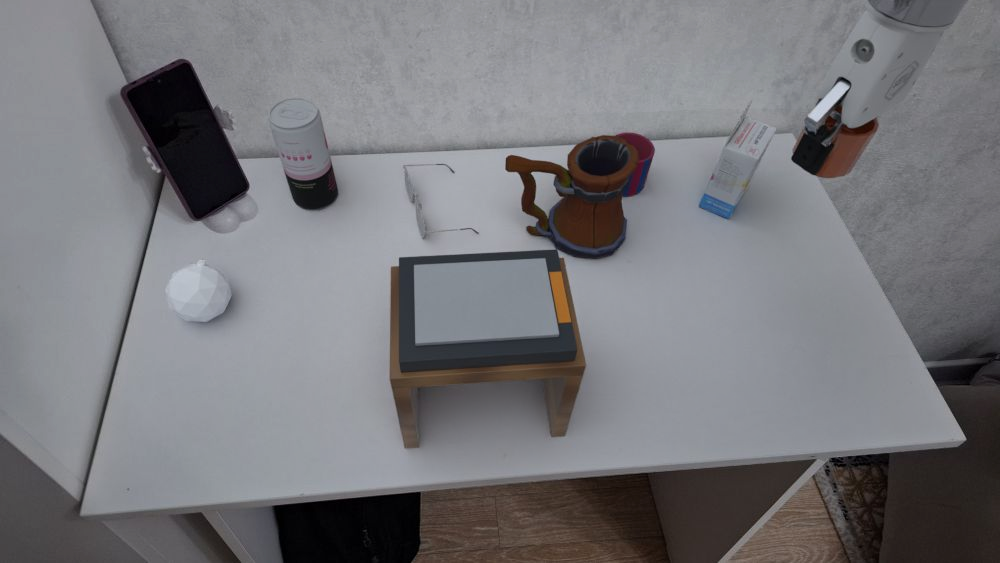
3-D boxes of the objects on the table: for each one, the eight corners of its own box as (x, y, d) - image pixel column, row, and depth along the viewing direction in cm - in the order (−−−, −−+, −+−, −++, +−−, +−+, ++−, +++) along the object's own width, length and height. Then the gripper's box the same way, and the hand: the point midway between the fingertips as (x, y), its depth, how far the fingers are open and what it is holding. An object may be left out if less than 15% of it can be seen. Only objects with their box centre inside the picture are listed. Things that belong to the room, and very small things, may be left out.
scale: (555, 261, 64) (557, 245, 62) (574, 361, 57) (578, 347, 55) (400, 269, 63) (398, 253, 61) (400, 373, 56) (398, 359, 54)
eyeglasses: (402, 180, 94) (402, 159, 91) (453, 173, 96) (455, 153, 93) (424, 247, 86) (424, 227, 83) (479, 238, 88) (481, 219, 85)
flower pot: (862, 167, 68) (891, 122, 64) (827, 189, 66) (854, 144, 61) (814, 136, 71) (838, 91, 67) (778, 155, 69) (801, 111, 64)
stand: (548, 338, 77) (563, 257, 65) (565, 436, 70) (586, 365, 57) (404, 347, 76) (390, 266, 63) (404, 448, 68) (389, 378, 55)
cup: (648, 196, 94) (659, 162, 88) (583, 197, 93) (590, 163, 88) (639, 166, 98) (649, 131, 92) (577, 167, 97) (583, 132, 92)
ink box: (729, 221, 91) (767, 142, 79) (697, 207, 93) (730, 128, 81) (748, 188, 96) (787, 109, 84) (717, 175, 97) (751, 95, 85)
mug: (504, 266, 84) (510, 186, 72) (497, 205, 91) (501, 123, 79) (633, 260, 86) (659, 181, 74) (616, 201, 93) (638, 120, 81)
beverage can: (303, 177, 93) (279, 92, 81) (345, 184, 93) (326, 100, 81) (286, 207, 89) (257, 123, 77) (329, 215, 89) (307, 132, 77)
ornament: (165, 307, 78) (170, 247, 76) (229, 311, 81) (235, 254, 79) (159, 330, 72) (164, 265, 70) (228, 334, 75) (235, 272, 73)
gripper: (899, 43, 49) (803, 206, 63) (1007, -13, 55) (898, 145, 69) (820, 2, 52) (745, 164, 66) (930, -46, 59) (842, 111, 73)
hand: (824, 153), depth 68 cm, fingers closed on flower pot, 6 cm apart
